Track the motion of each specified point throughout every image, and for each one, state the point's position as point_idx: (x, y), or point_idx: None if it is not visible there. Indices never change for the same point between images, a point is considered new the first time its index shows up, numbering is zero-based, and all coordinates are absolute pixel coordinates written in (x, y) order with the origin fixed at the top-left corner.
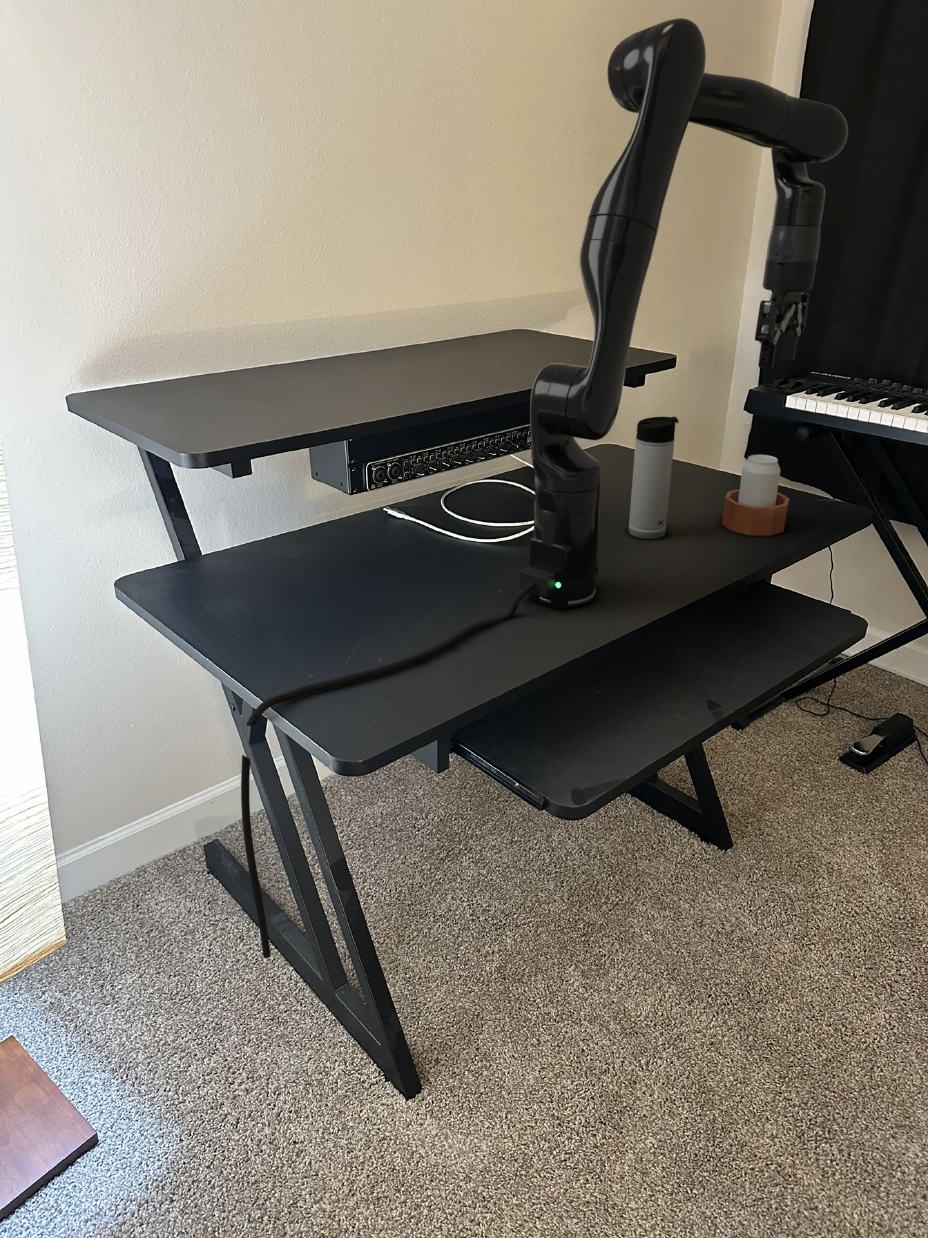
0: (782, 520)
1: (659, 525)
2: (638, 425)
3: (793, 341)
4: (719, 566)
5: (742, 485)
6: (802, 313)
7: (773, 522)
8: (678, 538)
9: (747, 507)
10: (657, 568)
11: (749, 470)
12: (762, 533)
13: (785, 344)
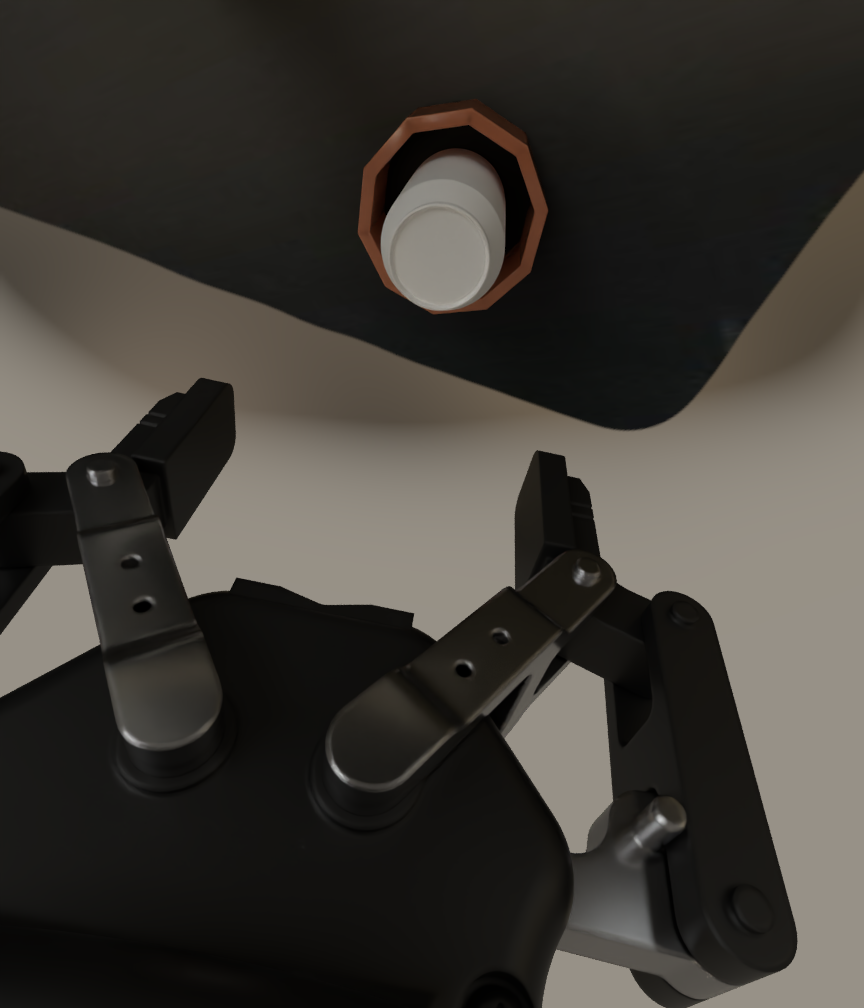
0: None
1: None
2: None
3: (517, 579)
4: (141, 191)
5: (408, 183)
6: (615, 773)
7: None
8: (235, 2)
9: (360, 212)
10: (5, 28)
11: (388, 218)
12: None
13: (532, 524)
